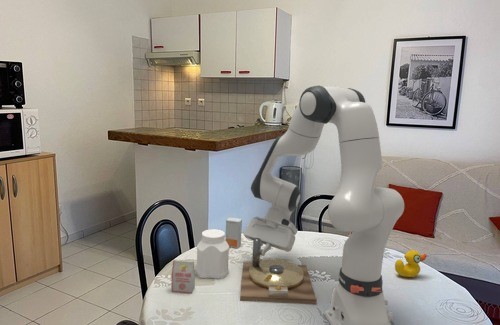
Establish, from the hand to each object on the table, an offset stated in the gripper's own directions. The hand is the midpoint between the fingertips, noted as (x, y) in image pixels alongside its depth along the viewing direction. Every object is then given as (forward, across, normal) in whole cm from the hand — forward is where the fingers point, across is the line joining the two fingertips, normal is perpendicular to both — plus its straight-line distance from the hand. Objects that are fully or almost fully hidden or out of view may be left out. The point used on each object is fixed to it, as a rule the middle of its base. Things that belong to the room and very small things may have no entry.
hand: (259, 254), depth 131 cm
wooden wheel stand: (+7, +9, +4) cm, 12 cm away
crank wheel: (+4, +8, +4) cm, 10 cm away
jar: (+13, -13, -2) cm, 18 cm away
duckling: (-19, +44, +30) cm, 57 cm away
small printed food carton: (+24, -12, -13) cm, 30 cm away
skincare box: (-4, -23, +15) cm, 28 cm away
